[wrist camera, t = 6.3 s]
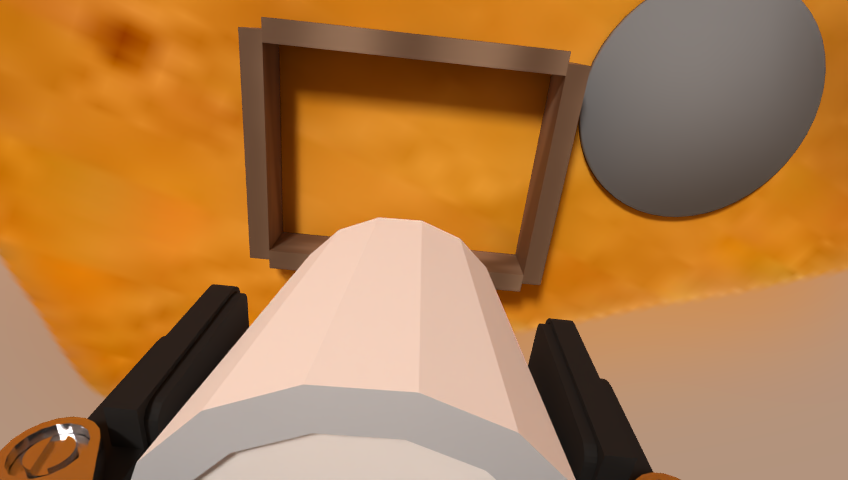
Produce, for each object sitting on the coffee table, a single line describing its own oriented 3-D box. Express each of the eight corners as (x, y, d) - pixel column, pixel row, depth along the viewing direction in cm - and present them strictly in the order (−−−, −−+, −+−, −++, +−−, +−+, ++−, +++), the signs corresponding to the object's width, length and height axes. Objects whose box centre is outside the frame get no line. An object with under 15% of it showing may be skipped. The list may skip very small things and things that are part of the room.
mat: (862, -12, 26) (870, -13, 25) (763, 224, 31) (768, 226, 31) (612, -42, 25) (615, -43, 25) (556, 203, 31) (558, 205, 30)
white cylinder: (359, 435, 15) (303, 736, 9) (220, 268, 13) (1, 511, 6) (559, 350, 13) (670, 639, 7) (443, 143, 11) (454, 296, 5)
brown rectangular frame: (576, 52, 27) (593, 54, 24) (529, 271, 33) (538, 293, 30) (257, 16, 27) (237, 14, 24) (265, 246, 32) (250, 266, 30)
